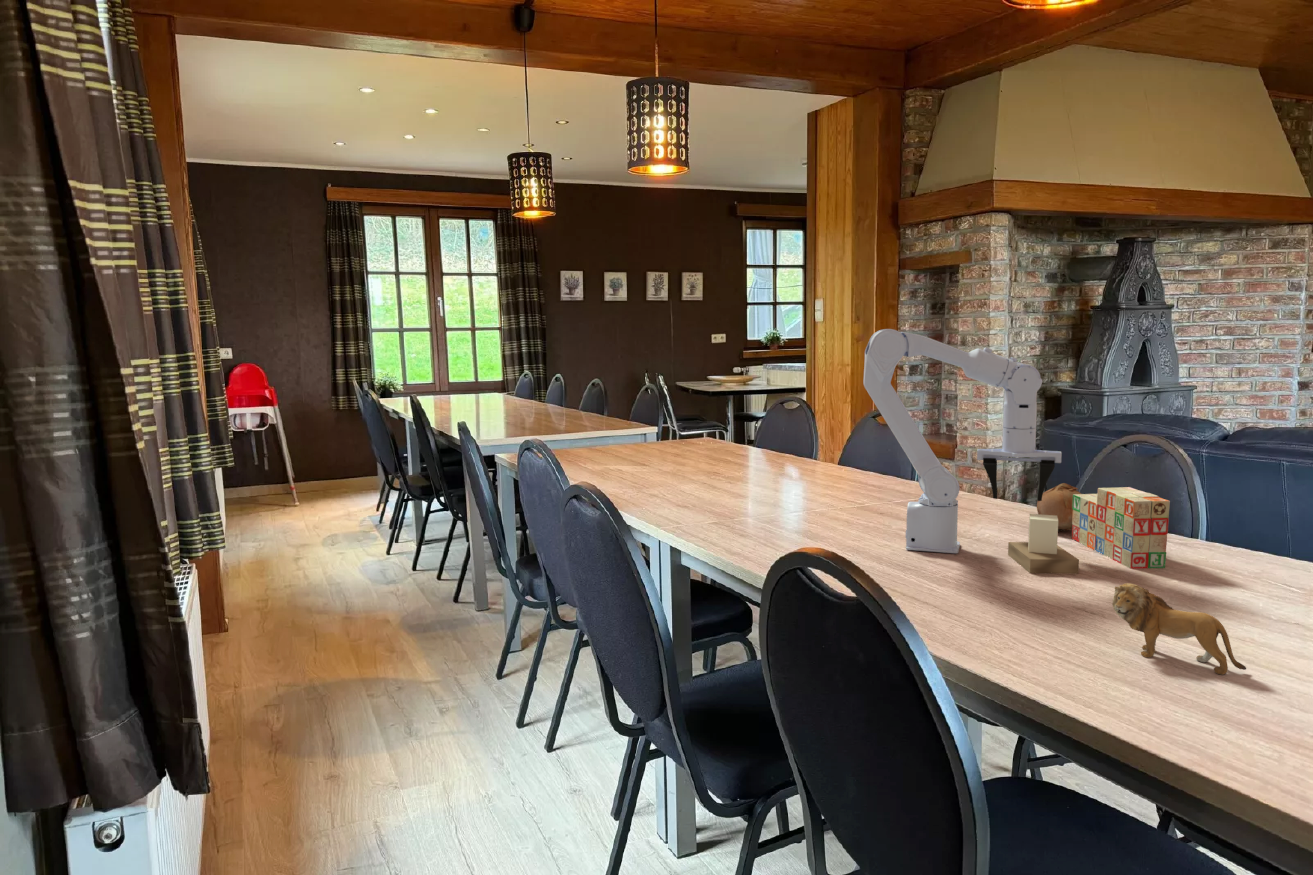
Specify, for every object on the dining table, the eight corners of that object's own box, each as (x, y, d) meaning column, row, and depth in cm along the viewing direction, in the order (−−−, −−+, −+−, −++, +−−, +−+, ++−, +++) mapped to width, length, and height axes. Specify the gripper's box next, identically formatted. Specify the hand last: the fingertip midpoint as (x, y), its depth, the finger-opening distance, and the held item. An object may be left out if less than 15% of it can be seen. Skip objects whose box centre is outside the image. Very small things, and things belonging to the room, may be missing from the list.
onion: (1078, 526, 177) (1080, 479, 175) (1093, 536, 167) (1095, 487, 166) (1030, 525, 178) (1032, 479, 177) (1043, 535, 169) (1044, 487, 168)
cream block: (1028, 552, 148) (1030, 519, 147) (1028, 546, 152) (1029, 513, 151) (1056, 554, 146) (1058, 520, 145) (1055, 548, 150) (1056, 515, 149)
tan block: (1029, 576, 144) (1030, 559, 143) (1007, 557, 155) (1008, 542, 155) (1078, 576, 143) (1078, 559, 142) (1052, 558, 155) (1053, 542, 154)
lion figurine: (1106, 653, 108) (1109, 586, 107) (1114, 641, 112) (1117, 576, 111) (1244, 680, 99) (1249, 607, 98) (1247, 666, 103) (1252, 595, 102)
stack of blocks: (1070, 539, 166) (1072, 478, 165) (1101, 539, 166) (1104, 478, 165) (1130, 569, 145) (1134, 500, 143) (1166, 568, 145) (1170, 499, 143)
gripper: (977, 429, 155) (975, 500, 157) (1063, 431, 149) (1060, 505, 151) (978, 425, 161) (976, 493, 163) (1061, 426, 156) (1058, 497, 158)
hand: (1017, 498), depth 158 cm, fingers open, 7 cm apart
